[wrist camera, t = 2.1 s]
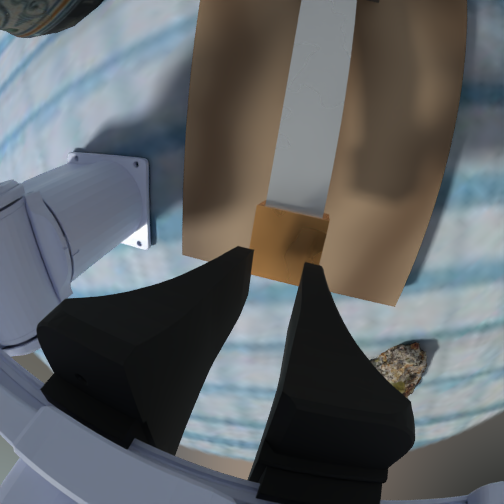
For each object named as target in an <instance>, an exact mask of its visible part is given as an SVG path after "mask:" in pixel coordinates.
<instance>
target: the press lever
mask: <svg viewBox="0 0 504 504" xmlns="http://www.w3.org/2000/svg"><path fill="white" fill-rule="evenodd" d="M356 4H357V0H301V6H300V11H299V17H298V23H297V29H296V35H295V41H294V46H293V52H292V58H291V64H290V69H289V75H288V81H287V87H286V92H285V98H284V104H283V109H282V115H281V121H280V126H279V132H278V138H277V143H276V149H275V155H274V160H273V166H272V171H271V177H270V183H269V188H268V194H267V199H266V200H265V201H263V202H261V203H260V204H258V205H257V207H256V212H255V218H254V224H253V230H252V235H251V241H250V247H249V249H253V250H254V255H253V262H252V270H251V274H252V275H256V276H259V277H263V278H267V279H272V280H276V281H280V282H284V283H288V284H292V285H296V286H299V283H300V279H301V275H302V271H303V267H304V263H305V262H308V263H312V264H316V265H319V263H320V259H321V255H322V251H323V247H324V243H325V239H326V235H327V230H328V226H329V222H330V219H329V214H326V213H324V209H325V204H326V199H327V194H328V190H329V185H330V180H331V175H332V170H333V164H334V159H335V154H336V148H337V143H338V137H339V132H340V126H341V120H342V114H343V108H344V101H345V95H346V88H347V81H348V74H349V67H350V59H351V51H352V43H353V34H354V25H355V15H356Z"/></svg>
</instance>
